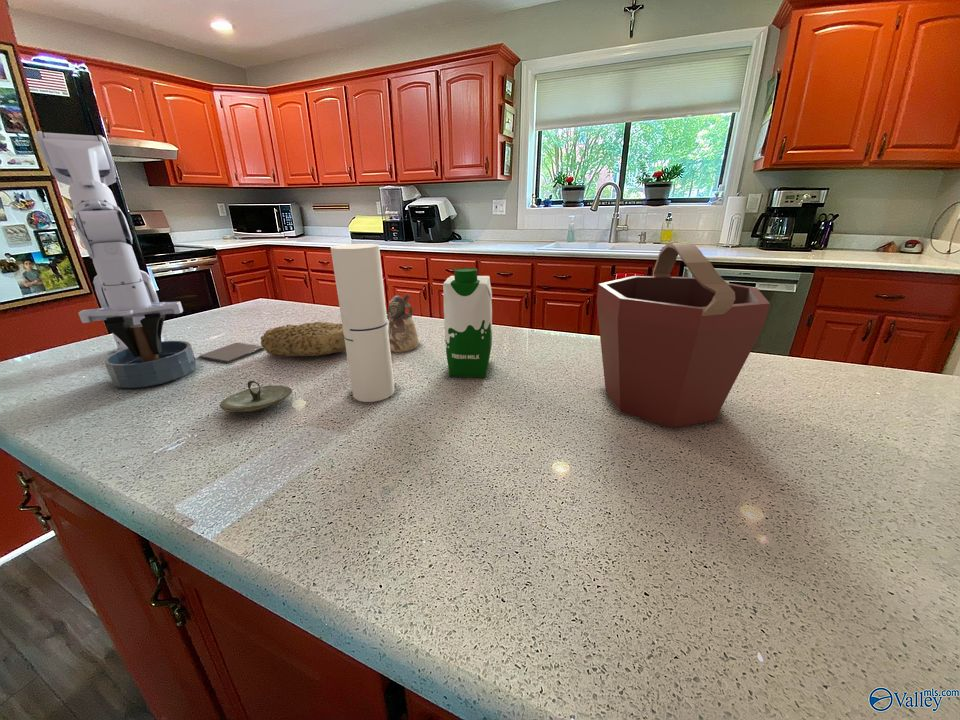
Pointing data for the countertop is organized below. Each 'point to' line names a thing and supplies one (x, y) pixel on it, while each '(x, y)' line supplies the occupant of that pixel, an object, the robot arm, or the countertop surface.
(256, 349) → the square mirror plate
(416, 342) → the figurine
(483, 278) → the milk carton
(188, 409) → the countertop surface
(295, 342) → the sponge
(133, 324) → the robot arm
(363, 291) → the cylindrical container
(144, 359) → the brown wooden peg
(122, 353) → the bowl
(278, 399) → the lid
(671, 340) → the bucket
